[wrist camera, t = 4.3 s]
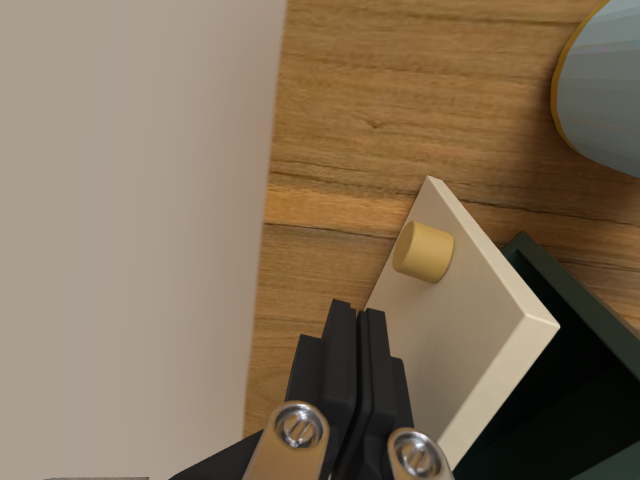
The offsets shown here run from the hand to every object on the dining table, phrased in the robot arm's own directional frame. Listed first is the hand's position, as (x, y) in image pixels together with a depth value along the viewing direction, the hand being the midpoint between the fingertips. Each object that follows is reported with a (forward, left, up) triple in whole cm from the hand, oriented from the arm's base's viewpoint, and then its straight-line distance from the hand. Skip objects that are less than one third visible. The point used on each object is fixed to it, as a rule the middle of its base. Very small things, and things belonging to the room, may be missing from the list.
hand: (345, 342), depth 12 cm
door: (+3, -2, -8) cm, 9 cm away
